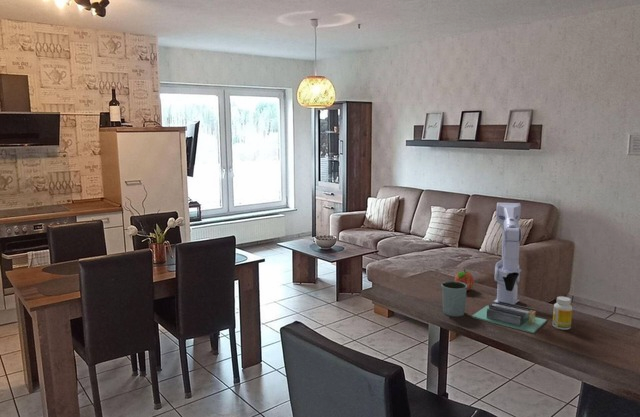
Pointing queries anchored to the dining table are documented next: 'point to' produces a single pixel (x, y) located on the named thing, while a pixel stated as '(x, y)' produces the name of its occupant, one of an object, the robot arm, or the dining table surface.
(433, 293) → the dining table surface
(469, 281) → the fruit
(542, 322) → the circuit board
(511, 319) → the heat sink
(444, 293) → the green cup
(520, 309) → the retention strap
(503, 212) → the robot arm
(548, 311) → the dining table surface
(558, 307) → the supplement bottle
